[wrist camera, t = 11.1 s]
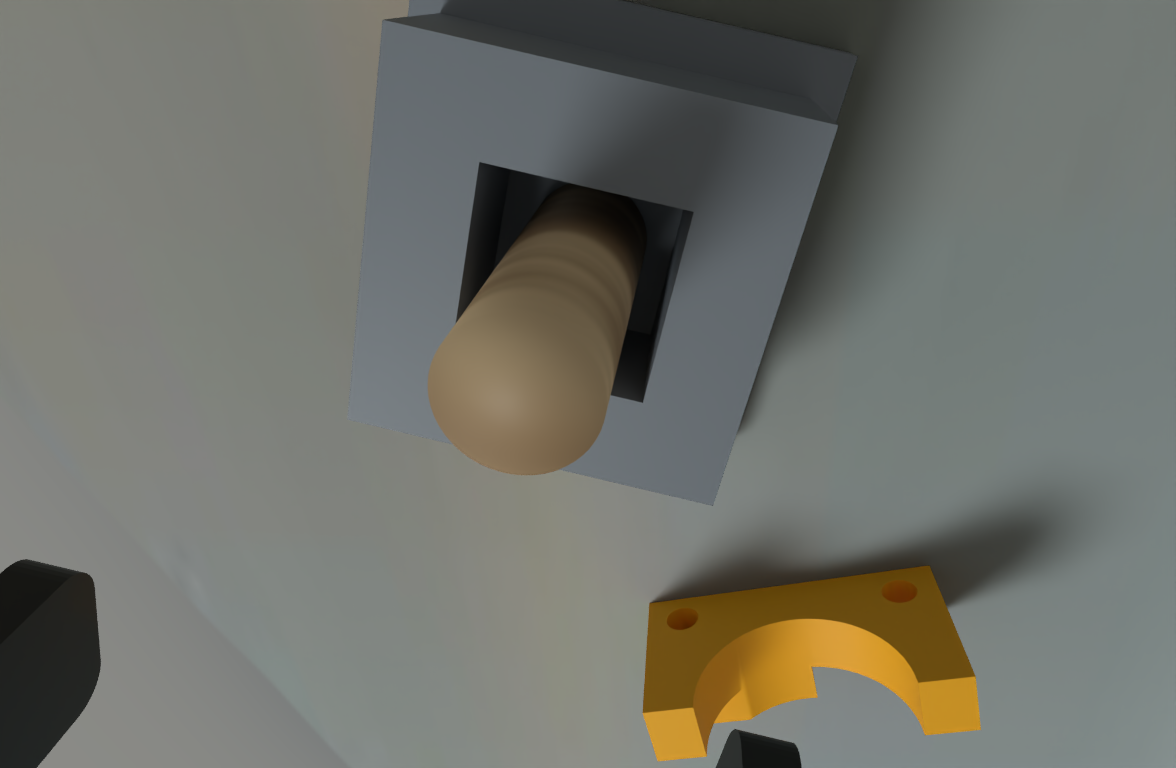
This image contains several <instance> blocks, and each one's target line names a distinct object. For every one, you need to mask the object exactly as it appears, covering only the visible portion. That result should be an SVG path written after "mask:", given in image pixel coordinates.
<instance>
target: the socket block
mask: <svg viewBox="0 0 1176 768" xmlns="http://www.w3.org/2000/svg"><path fill="white" fill-rule="evenodd" d="M857 58H858V56H856V55H854V54H852V53H849V52H845V51H840V50H836V49H832V48H827V47H823V46H819V45H814V44H810V43H806V42H801V41H797V40H793V39H788V38H784V37H780V36H775V35H771V34H767V33H762V32H758V31H754V30H749V29H745V28H741V27H736V26H732V25H728V24H724V23H719V22H715V21H711V20H706V19H702V18H698V17H693V16H689V15H685V14H680V13H676V12H672V11H667V10H663V9H659V8H654V7H650V6H646V5H641V4H637V3H633V2H628V1H624V0H410V1H409V11H408V17H402V18H393V19H385V20H383V21H382V33H381V44H380V55H379V67H378V78H377V89H376V101H375V112H374V123H373V135H372V146H371V157H370V169H369V180H368V191H367V203H366V214H365V225H364V237H363V248H362V259H361V271H360V282H359V293H358V305H357V316H356V327H355V339H354V350H353V361H352V373H351V384H350V395H349V407H348V418H347V419H348V420H352V421H356V422H360V423H365V424H369V425H373V426H377V427H381V428H386V429H390V430H394V431H398V432H403V433H407V434H411V435H415V436H420V437H424V438H428V439H432V440H437V441H441V442H445V443H449V444H452V443H451V441H450V440H449V439H448V438H447V437H446V436H445V434H444V433H443V431H442V430H441V428H440V427H439V425H438V423H437V421H436V419H435V417H434V415H433V412H432V409H431V406H430V402H429V397H428V374H429V369H430V365H431V362H432V360H433V357H434V355H435V353H436V351H437V350H438V348H439V346H440V345H441V343H442V342H443V341H444V339H445V338H446V336H447V335H448V334H449V332H450V331H451V329H452V328H453V327H454V325H455V324H456V322H457V321H458V320H459V318H460V317H461V316H462V314H463V313H464V311H465V310H466V309H467V307H468V306H469V304H470V303H471V302H472V300H473V299H474V297H475V296H476V295H477V293H478V292H479V290H480V289H481V288H482V286H483V285H484V283H485V282H486V281H487V279H488V278H489V276H490V275H491V274H492V272H493V271H494V269H495V268H496V267H497V265H498V264H499V263H500V261H501V260H502V258H503V257H504V256H505V254H506V253H507V251H508V250H509V249H510V247H511V246H512V244H513V243H514V242H515V240H516V239H517V237H518V236H519V235H520V233H521V232H522V230H523V229H524V228H525V226H526V225H527V223H528V222H529V221H530V219H531V218H532V216H533V215H534V214H535V212H536V211H537V210H538V208H539V207H540V205H541V204H542V203H543V201H544V200H545V199H546V198H547V197H548V196H549V195H550V194H551V193H552V192H554V191H555V190H556V189H558V188H560V187H562V186H564V185H566V184H569V183H572V184H576V185H580V186H585V187H589V188H593V189H597V190H602V191H606V192H610V193H615V194H619V195H623V196H628V197H629V198H630V199H631V200H632V201H633V202H634V204H635V205H636V207H637V208H638V209H639V211H640V213H641V215H642V218H643V220H644V223H645V228H646V235H647V243H646V250H645V255H644V259H643V263H642V267H641V271H640V275H639V280H638V284H637V288H636V292H635V296H634V300H633V304H632V309H631V313H630V317H629V321H628V325H627V329H626V333H625V337H624V342H623V346H622V350H621V354H620V358H619V362H618V366H617V371H616V375H615V379H614V383H613V387H612V391H611V395H610V400H609V404H608V408H607V412H606V416H605V420H604V423H603V426H602V429H601V432H600V433H599V435H598V437H597V439H596V441H595V442H594V443H593V445H592V446H591V447H590V449H589V450H588V451H587V452H586V453H585V454H584V455H583V456H581V457H580V458H579V459H577V460H576V461H575V462H573V463H571V464H570V465H568V466H566V467H564V468H561V469H559V470H563V471H568V472H572V473H576V474H580V475H585V476H589V477H593V478H597V479H602V480H606V481H610V482H614V483H619V484H623V485H627V486H631V487H635V488H640V489H644V490H648V491H652V492H657V493H661V494H665V495H669V496H674V497H678V498H682V499H686V500H690V501H695V502H699V503H703V504H707V505H712V506H713V504H714V501H715V498H716V495H717V492H718V489H719V486H720V483H721V480H722V477H723V474H724V471H725V468H726V465H727V462H728V459H729V456H730V453H731V449H732V446H733V443H734V440H735V437H736V434H737V431H738V428H739V425H740V422H741V419H742V416H743V413H744V410H745V407H746V404H747V401H748V398H749V395H750V392H751V389H752V386H753V383H754V380H755V377H756V374H757V371H758V368H759V365H760V362H761V359H762V356H763V353H764V349H765V346H766V343H767V340H768V337H769V334H770V331H771V328H772V325H773V322H774V319H775V316H776V313H777V310H778V307H779V304H780V301H781V298H782V295H783V292H784V289H785V286H786V283H787V280H788V277H789V274H790V271H791V268H792V265H793V262H794V259H795V256H796V253H797V249H798V246H799V243H800V240H801V237H802V234H803V231H804V228H805V225H806V222H807V219H808V216H809V213H810V210H811V207H812V204H813V201H814V198H815V195H816V192H817V189H818V186H819V183H820V180H821V177H822V174H823V171H824V168H825V165H826V162H827V159H828V156H829V153H830V149H831V146H832V143H833V140H834V137H835V134H836V131H837V128H838V125H837V124H836V122H837V119H838V116H839V113H840V110H841V107H842V104H843V101H844V97H845V94H846V91H847V88H848V85H849V82H850V79H851V76H852V73H853V70H854V67H855V64H856V61H857Z"/></svg>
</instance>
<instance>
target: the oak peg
mask: <svg viewBox="0 0 1176 768" xmlns="http://www.w3.org/2000/svg"><path fill="white" fill-rule="evenodd" d="M646 243H647V235H646V228H645V223H644V220H643V218H642V215H641V213H640V211H639V209H638V208H637V207H636V205H635V204H634V202H633V201H632V200H631V199H630V198H629V197H628V196H623V195H619V194H615V193H610V192H606V191H602V190H597V189H593V188H589V187H585V186H580V185H576V184H572V183H569V184H566V185H564V186H562V187H560V188H558V189H556V190H555V191H554V192H552V193H551V194H550V195H549V196H548V197H547V198H546V199H545V200H544V201H543V203H542V204H541V205H540V207H539V208H538V210H537V211H536V212H535V214H534V215H533V216H532V218H531V219H530V221H529V222H528V223H527V225H526V226H525V228H524V229H523V230H522V232H521V233H520V235H519V236H518V237H517V239H516V240H515V242H514V243H513V244H512V246H511V247H510V249H509V250H508V251H507V253H506V254H505V256H504V257H503V258H502V260H501V261H500V263H499V264H498V265H497V267H496V268H495V269H494V271H493V272H492V274H491V275H490V276H489V278H488V279H487V281H486V282H485V283H484V285H483V286H482V288H481V289H480V290H479V292H478V293H477V295H476V296H475V297H474V299H473V300H472V302H471V303H470V304H469V306H468V307H467V309H466V310H465V311H464V313H463V314H462V316H461V317H460V318H459V320H458V321H457V322H456V324H455V325H454V327H453V328H452V329H451V331H450V332H449V334H448V335H447V336H446V338H445V339H444V341H443V342H442V343H441V345H440V346H439V348H438V350H437V351H436V353H435V355H434V357H433V360H432V362H431V365H430V369H429V374H428V397H429V402H430V406H431V409H432V412H433V415H434V417H435V419H436V421H437V423H438V425H439V427H440V428H441V430H442V431H443V433H444V434H445V436H446V437H447V438H448V439H449V440H450V441H451V443H452V444H453V445H454V446H456V447H457V448H458V449H459V450H460V451H461V452H462V453H464V454H465V455H466V456H468V457H469V458H471V459H472V460H474V461H476V462H477V463H479V464H481V465H484V466H486V467H488V468H490V469H493V470H497V471H500V472H504V473H509V474H515V475H538V474H545V473H549V472H553V471H556V470H559V469H561V468H564V467H566V466H568V465H570V464H571V463H573V462H575V461H576V460H577V459H579V458H580V457H581V456H583V455H584V454H585V453H586V452H587V451H588V450H589V449H590V447H591V446H592V445H593V443H594V442H595V441H596V439H597V437H598V435H599V433H600V432H601V429H602V426H603V423H604V420H605V416H606V412H607V408H608V404H609V400H610V395H611V391H612V387H613V383H614V379H615V375H616V371H617V366H618V362H619V358H620V354H621V350H622V346H623V342H624V337H625V333H626V329H627V325H628V321H629V317H630V313H631V309H632V304H633V300H634V296H635V292H636V288H637V284H638V280H639V275H640V271H641V267H642V263H643V259H644V255H645V250H646Z"/></svg>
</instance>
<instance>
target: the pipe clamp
mask: <svg viewBox="0 0 1176 768" xmlns="http://www.w3.org/2000/svg"><path fill="white" fill-rule="evenodd" d="M812 667H831V668H839V669H844V670H848V671H852V672H855V673H859V674H861V675H864V676H867V677H869V678H871V679H873V680H875V681H877V682H879V683H881V684H883V685H884V686H886V687H888V688H889V689H890V690H892V691H893V692H894V693H896V694H897V695H898V696H899V697H900V698H901V699H902V700H904V701H905V703H906V704H907V705H908V706H909V707H910V708H911V710H912V711H913V712H914V714H915V715H916V717H917V718H918V720H919V722H920V724H921V726H922V728H923V731H924V734H925V735H932V734H942V733H953V732H963V731H973V730H981V727H980V717H979V707H978V697H977V686H976V676H975V674H974V672H973V669H972V667H971V664H970V662H969V660H968V657H967V655H966V652H965V650H964V648H963V645H962V643H961V640H960V638H959V636H958V633H957V631H956V628H955V626H954V624H953V621H952V619H951V616H950V614H949V611H948V609H947V607H946V604H945V602H944V599H943V597H942V595H941V592H940V590H939V587H938V585H937V583H936V580H935V578H934V575H933V573H932V571H931V568H930V566H929V565H928V566H921V567H914V568H906V569H899V570H891V571H884V572H877V573H869V574H862V575H855V576H847V577H840V578H832V579H825V580H818V581H810V582H803V583H796V584H788V585H781V586H773V587H766V588H759V589H751V590H744V591H736V592H729V593H722V594H714V595H707V596H700V597H692V598H685V599H677V600H670V601H663V602H655V603H649V619H648V635H647V651H646V668H645V684H644V700H643V716H644V719H645V722H646V725H647V728H648V732H649V735H650V738H651V741H652V744H653V748H654V751H655V754H656V757H657V760H658V761H665V760H675V759H686V758H696V757H706V756H707V744H708V739H709V735H710V732H711V729H712V726H713V724H714V723H722V722H731V721H741V720H750V719H752V718H753V717H755V716H756V715H758V714H760V713H761V712H763V711H765V710H767V709H769V708H771V707H774V706H776V705H779V704H782V703H785V702H789V701H793V700H798V699H805V698H817V692H816V687H815V681H814V676H813V670H812Z"/></svg>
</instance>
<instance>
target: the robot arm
mask: <svg viewBox="0 0 1176 768" xmlns="http://www.w3.org/2000/svg"><path fill="white" fill-rule="evenodd" d="M100 666H101V659H100V647H99V635H98V622H97V610H96V598H95V587H94V582H93V579H92V578H91V576H90V575H88V574H87V573H83V572H79V571H74V570H70V569H66V568H62V567H57V566H53V565H49V564H45V563H40V562H36V561H32V560H27V559H25V560H20V561H17V562H15V563H14V564H12V565H10V566H9V567H8V568H6V569H5V570H4V571H3V572H2V573H1V574H0V768H37V767H38V765H39V764H40V763H41V762H42V761H43V759H44V758H45V757H46V756H47V754H48V753H49V752H50V751H51V750H52V748H53V747H54V746H55V745H56V743H57V742H58V741H59V740H60V739H61V738H62V736H63V735H64V734H65V733H66V731H67V730H68V729H69V728H70V726H71V725H72V724H73V723H74V722H75V720H76V719H77V718H78V717H79V716H80V714H81V713H82V711H83V710H84V708H85V707H86V705H87V703H88V702H89V700H90V698H91V696H92V694H93V692H94V689H95V686H96V684H97V681H98V677H99V673H100ZM716 768H802V767H801V760H800V755H799V751H798V748H797V746H796V745H795V744H794V743H791V742H787V741H783V740H779V739H774V738H770V737H766V736H762V735H757V734H753V733H749V732H745V731H741V730H736V729H734V730H733V731H732V732H731V733H730V735H729V737H728V739H727V741H726V744H725V746H724V749H723V751H722V754H721V756H720V759H719V761H718V764H717V766H716Z"/></svg>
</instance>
